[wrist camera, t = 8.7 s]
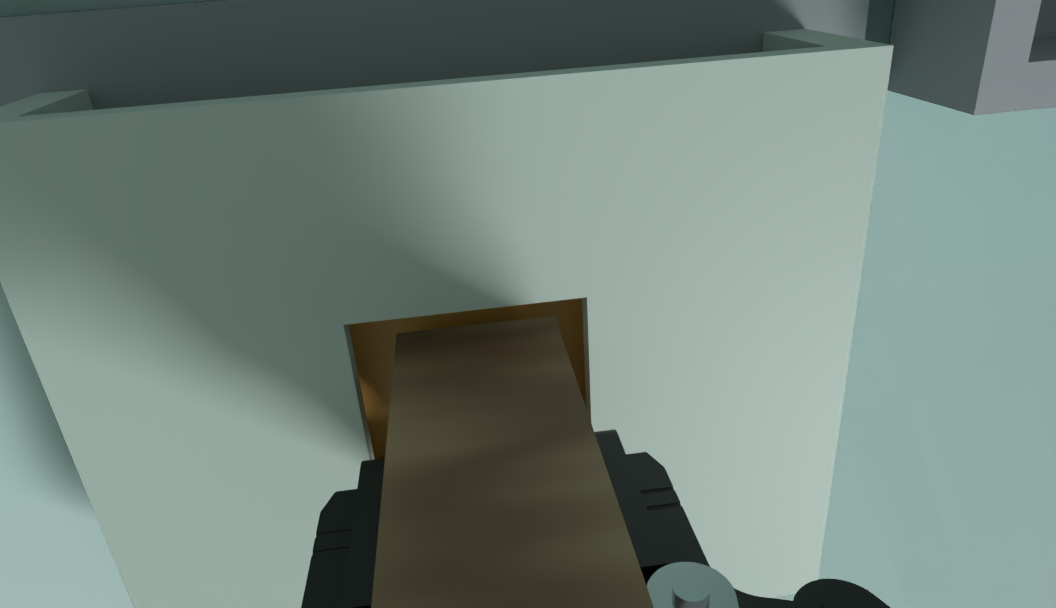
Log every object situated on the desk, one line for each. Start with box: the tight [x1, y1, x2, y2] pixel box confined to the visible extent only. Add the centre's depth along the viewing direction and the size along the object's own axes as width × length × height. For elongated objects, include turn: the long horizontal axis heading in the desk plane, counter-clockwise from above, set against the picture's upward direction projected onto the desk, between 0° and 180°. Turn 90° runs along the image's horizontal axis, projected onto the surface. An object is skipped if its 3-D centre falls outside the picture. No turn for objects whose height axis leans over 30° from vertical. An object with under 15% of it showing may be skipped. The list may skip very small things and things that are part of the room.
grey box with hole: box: [0, 0, 894, 608], centre depth 18 cm, size 20×17×5 cm
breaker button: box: [349, 298, 586, 459], centre depth 19 cm, size 6×6×1 cm
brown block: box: [371, 316, 654, 608], centre depth 13 cm, size 4×4×9 cm
